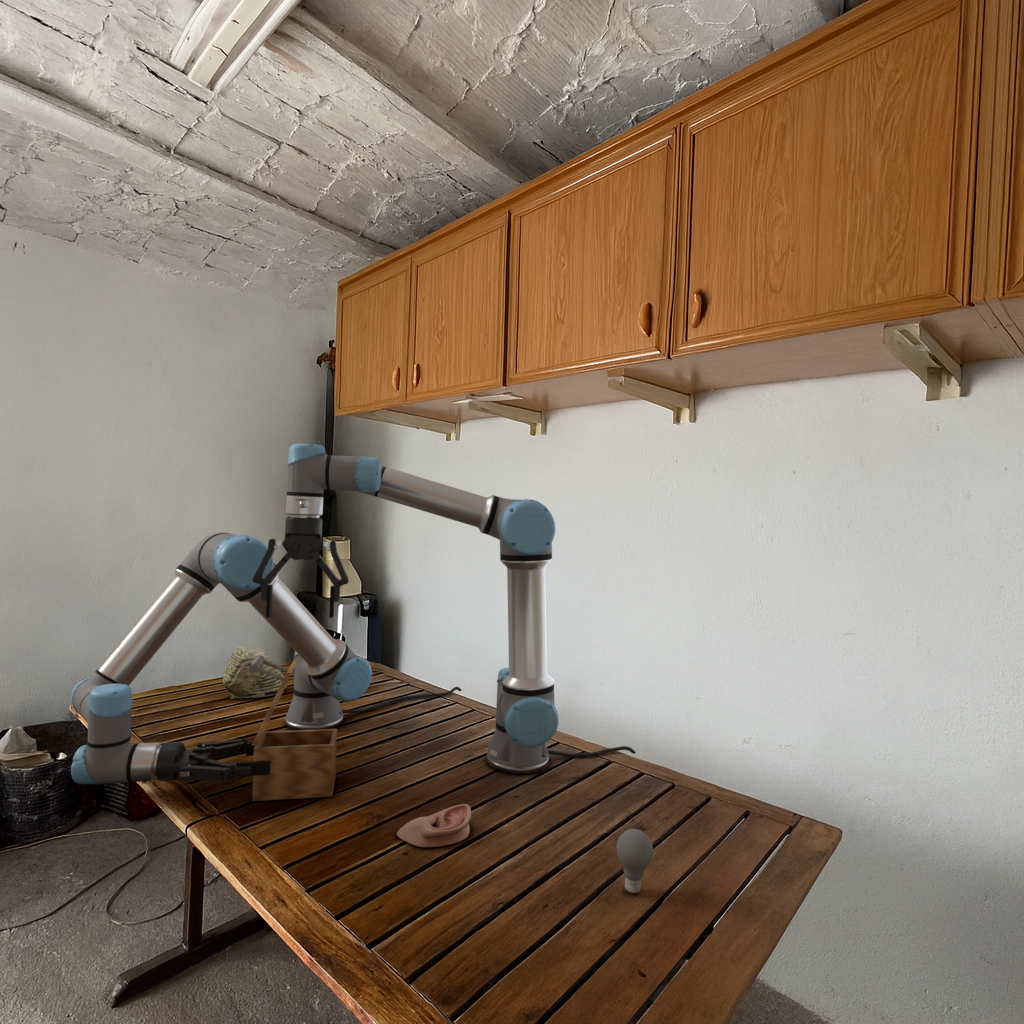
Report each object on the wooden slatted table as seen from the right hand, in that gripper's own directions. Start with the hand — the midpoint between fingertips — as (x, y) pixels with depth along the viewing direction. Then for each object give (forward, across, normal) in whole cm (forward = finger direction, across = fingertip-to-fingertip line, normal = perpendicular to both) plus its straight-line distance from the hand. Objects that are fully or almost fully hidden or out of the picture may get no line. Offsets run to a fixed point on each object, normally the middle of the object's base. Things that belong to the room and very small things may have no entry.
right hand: (300, 616), depth 136 cm
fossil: (+37, -20, +67) cm, 79 cm away
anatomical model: (+37, +28, -22) cm, 52 cm away
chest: (+37, 0, 0) cm, 37 cm away
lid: (+19, -4, 0) cm, 19 cm away
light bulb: (+37, +60, -44) cm, 83 cm away
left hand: (+30, -4, 0) cm, 31 cm away
